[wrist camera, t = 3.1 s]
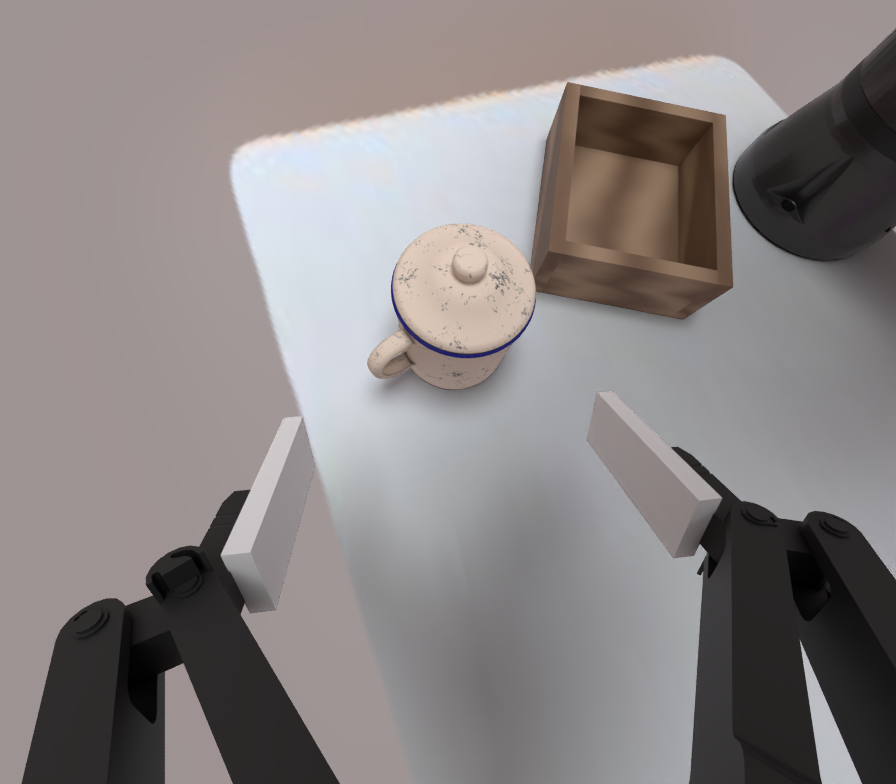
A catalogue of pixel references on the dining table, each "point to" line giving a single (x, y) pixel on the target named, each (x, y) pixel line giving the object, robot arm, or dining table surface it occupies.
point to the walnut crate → (634, 204)
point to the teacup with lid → (456, 306)
